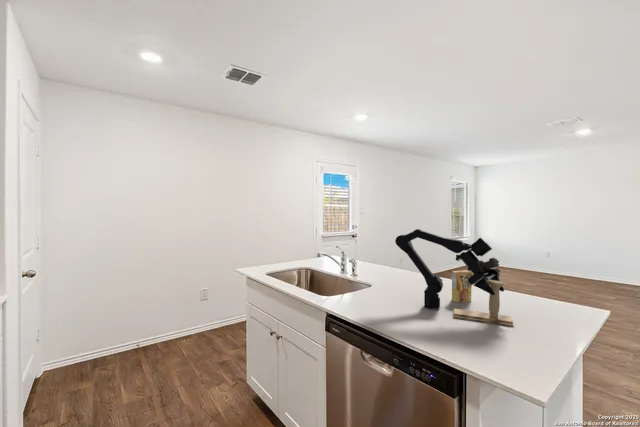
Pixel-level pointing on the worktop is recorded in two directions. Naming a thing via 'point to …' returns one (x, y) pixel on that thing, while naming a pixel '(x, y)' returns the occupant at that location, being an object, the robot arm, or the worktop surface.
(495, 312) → the handle
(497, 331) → the worktop surface
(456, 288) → the candy box
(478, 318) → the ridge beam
